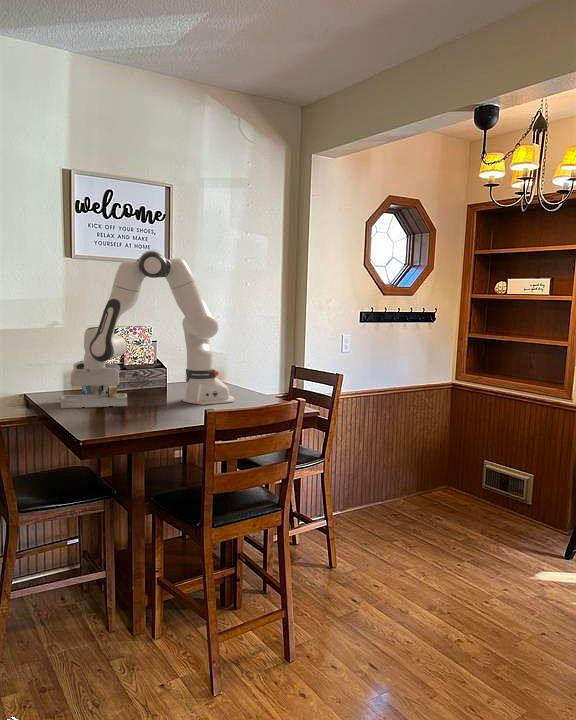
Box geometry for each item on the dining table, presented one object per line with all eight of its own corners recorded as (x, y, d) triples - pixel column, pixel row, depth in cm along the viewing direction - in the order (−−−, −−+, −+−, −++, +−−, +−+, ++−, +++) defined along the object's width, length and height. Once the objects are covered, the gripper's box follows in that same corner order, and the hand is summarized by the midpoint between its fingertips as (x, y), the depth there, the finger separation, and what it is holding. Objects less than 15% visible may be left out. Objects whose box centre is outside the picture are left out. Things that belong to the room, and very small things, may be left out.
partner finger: (108, 401, 241) (107, 387, 240) (108, 399, 245) (107, 385, 245) (116, 401, 242) (116, 387, 241) (116, 399, 246) (116, 385, 246)
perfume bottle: (101, 396, 259) (100, 370, 257) (87, 397, 255) (87, 371, 253) (95, 394, 264) (94, 368, 262) (82, 395, 259) (81, 369, 258)
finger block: (100, 399, 253) (99, 385, 252) (99, 401, 248) (99, 387, 248) (91, 399, 252) (91, 385, 251) (91, 401, 247) (91, 388, 247)
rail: (126, 401, 250) (126, 393, 250) (127, 405, 241) (127, 397, 240) (63, 403, 243) (62, 395, 242) (61, 408, 233) (60, 399, 233)
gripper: (120, 362, 254) (120, 393, 256) (70, 363, 248) (71, 394, 250) (120, 364, 248) (120, 396, 250) (69, 365, 242) (70, 397, 244)
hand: (95, 395), depth 250 cm, fingers open, 5 cm apart
